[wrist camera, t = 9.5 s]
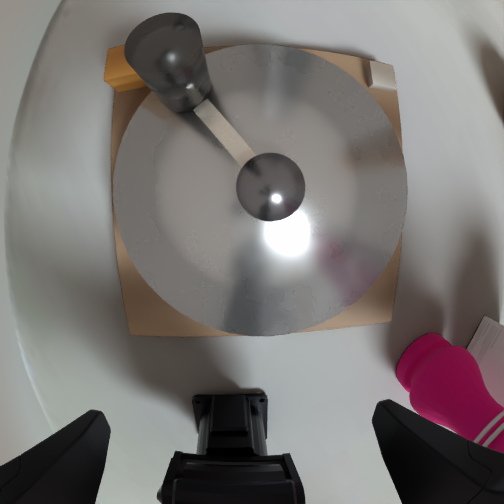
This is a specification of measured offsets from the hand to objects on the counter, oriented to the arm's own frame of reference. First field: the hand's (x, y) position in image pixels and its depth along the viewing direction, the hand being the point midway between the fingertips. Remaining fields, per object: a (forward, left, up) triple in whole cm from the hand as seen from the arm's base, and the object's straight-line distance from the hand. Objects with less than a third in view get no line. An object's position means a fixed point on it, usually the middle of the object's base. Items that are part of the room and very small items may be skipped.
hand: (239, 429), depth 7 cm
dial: (+7, -2, -11) cm, 13 cm away
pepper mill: (-9, -18, -13) cm, 24 cm away
